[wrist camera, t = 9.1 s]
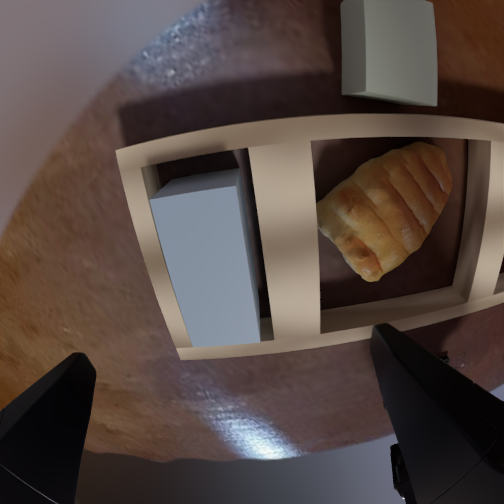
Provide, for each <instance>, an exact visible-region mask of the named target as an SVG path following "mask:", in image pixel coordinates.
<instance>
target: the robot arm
mask: <svg viewBox="0 0 504 504" xmlns="http://www.w3.org/2000/svg"><path fill="white" fill-rule="evenodd" d="M370 350H371V355H372V359H373V363H374V367H375V370H376V374H377V378H378V383H379V387H380V391H381V395H382V398H383V401H384V409H385V410H387V412H388V415H389V417H390V420H391V423H392V426H393V429H394V432H395V435H396V437H397V440H398V443H397V444H394V445H392V446H391V447H390V449H391V463H392V472H393V483H394V489H395V490H397V491H398V493H399V494H400V496H401V497H402V498H403V499H405V501H406V504H504V401H502V400H500V399H498V398H497V397H495V396H494V395H492V394H491V393H489V392H488V391H486V390H485V389H483V388H482V387H481V386H479V385H478V384H476V383H474V384H473V381H472V380H470V379H469V378H468V377H466V376H465V375H463V374H462V373H460V372H459V371H457V370H456V369H455V368H453V367H452V366H450V365H449V361H450V359H449V358H448V356H445V357H442V358H439V357H437V356H436V355H434V354H433V353H431V352H430V351H429V350H427V349H426V348H424V347H423V346H421V345H420V344H418V343H417V342H415V341H414V340H412V339H411V338H409V337H408V336H407V335H405V334H404V333H402V332H401V331H399V330H398V329H396V328H395V327H393V326H392V325H390V324H389V323H386V322H385V323H380V324H376V325H374V326H373V328H372V336H371V343H370ZM95 382H96V370H95V368H94V367H93V365H92V363H91V362H90V360H89V359H88V357H87V356H86V354H84V353H80V352H75V353H72V354H71V355H70V356H68V357H67V358H66V359H65V360H63V361H62V362H61V363H59V364H58V365H57V366H56V367H54V368H53V369H52V370H51V371H49V372H48V373H47V374H45V375H44V376H43V377H42V378H40V379H39V380H38V381H37V382H35V383H34V384H33V385H32V386H30V387H29V388H28V389H27V390H25V391H24V392H23V393H22V394H20V395H19V396H18V397H17V398H15V399H14V400H13V401H12V402H11V403H9V404H8V405H7V406H6V407H5V408H3V409H2V410H1V411H0V504H75V497H76V490H77V483H78V477H79V470H80V465H81V459H82V453H83V448H84V443H85V438H86V433H87V429H88V424H89V420H90V415H91V409H92V402H93V395H94V388H95Z"/></svg>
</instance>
